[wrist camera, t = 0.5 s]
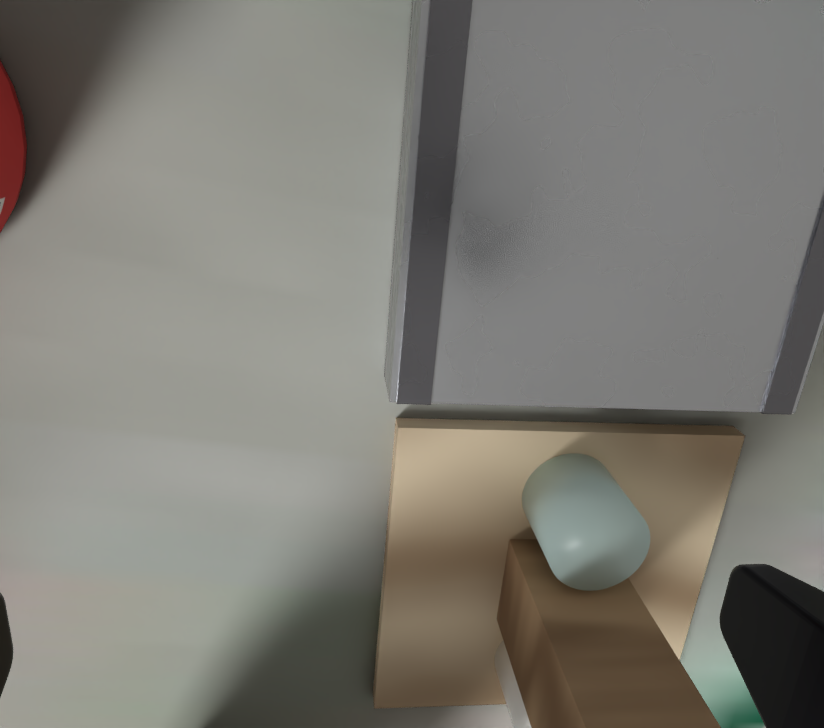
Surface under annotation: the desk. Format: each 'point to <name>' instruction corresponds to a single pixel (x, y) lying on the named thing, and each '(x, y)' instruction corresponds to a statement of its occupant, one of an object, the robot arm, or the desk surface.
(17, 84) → the desk surface
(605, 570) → the grey-green round cylinder
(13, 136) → the canned food
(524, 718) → the white short cylinder
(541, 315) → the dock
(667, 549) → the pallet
